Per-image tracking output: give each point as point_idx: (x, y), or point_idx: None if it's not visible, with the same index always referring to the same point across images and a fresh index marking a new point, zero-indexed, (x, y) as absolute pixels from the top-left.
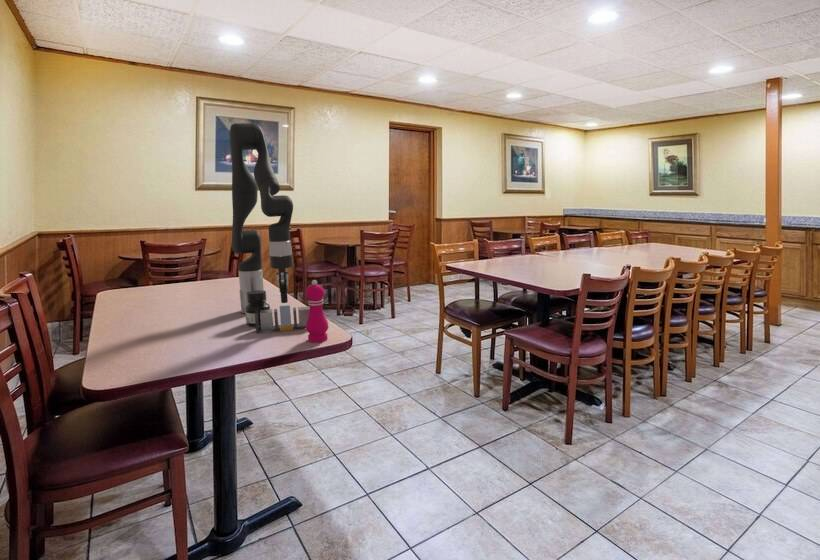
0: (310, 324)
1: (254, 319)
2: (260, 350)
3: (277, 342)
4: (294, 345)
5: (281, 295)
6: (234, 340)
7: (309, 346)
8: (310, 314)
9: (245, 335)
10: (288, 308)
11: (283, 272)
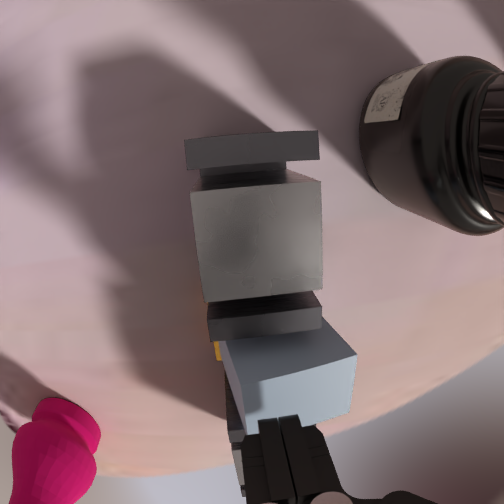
0: (12, 450)
1: (377, 117)
2: None
3: (24, 288)
4: (2, 351)
5: (266, 480)
6: (82, 53)
7: (5, 391)
8: (15, 483)
9: (165, 85)
10: (242, 419)
11: None
